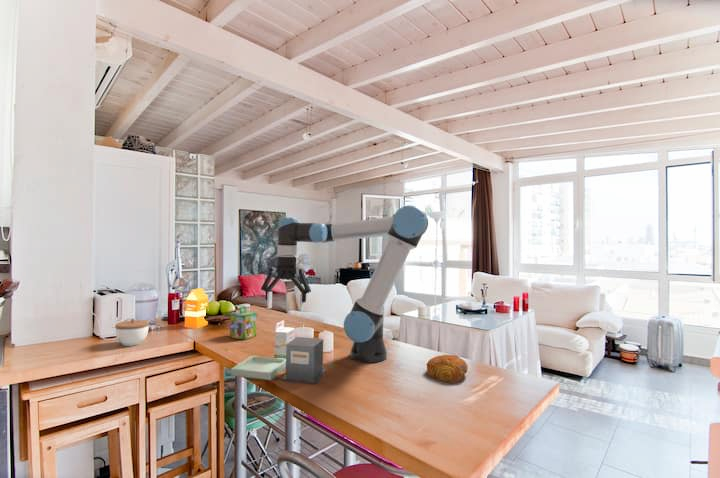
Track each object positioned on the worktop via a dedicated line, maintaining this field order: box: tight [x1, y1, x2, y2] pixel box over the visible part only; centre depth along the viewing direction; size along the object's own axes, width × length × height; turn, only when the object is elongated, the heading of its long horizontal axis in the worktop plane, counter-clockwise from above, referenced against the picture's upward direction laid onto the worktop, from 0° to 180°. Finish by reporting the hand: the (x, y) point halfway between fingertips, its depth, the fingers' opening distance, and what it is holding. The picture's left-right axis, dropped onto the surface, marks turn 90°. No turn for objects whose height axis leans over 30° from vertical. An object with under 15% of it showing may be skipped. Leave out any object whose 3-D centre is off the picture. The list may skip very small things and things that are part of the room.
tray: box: [230, 355, 286, 381], centre depth 130 cm, size 15×15×2 cm
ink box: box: [273, 319, 295, 359], centre depth 143 cm, size 9×5×15 cm, turn 168°
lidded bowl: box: [114, 318, 150, 347], centre depth 158 cm, size 13×13×11 cm
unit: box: [281, 336, 327, 385], centre depth 125 cm, size 12×12×12 cm
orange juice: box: [184, 287, 209, 329], centre depth 193 cm, size 8×9×20 cm
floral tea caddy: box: [229, 305, 258, 341], centre depth 174 cm, size 9×9×15 cm
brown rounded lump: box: [426, 354, 468, 383], centre depth 130 cm, size 14×16×8 cm
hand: (285, 309), depth 143 cm, fingers open, 13 cm apart
